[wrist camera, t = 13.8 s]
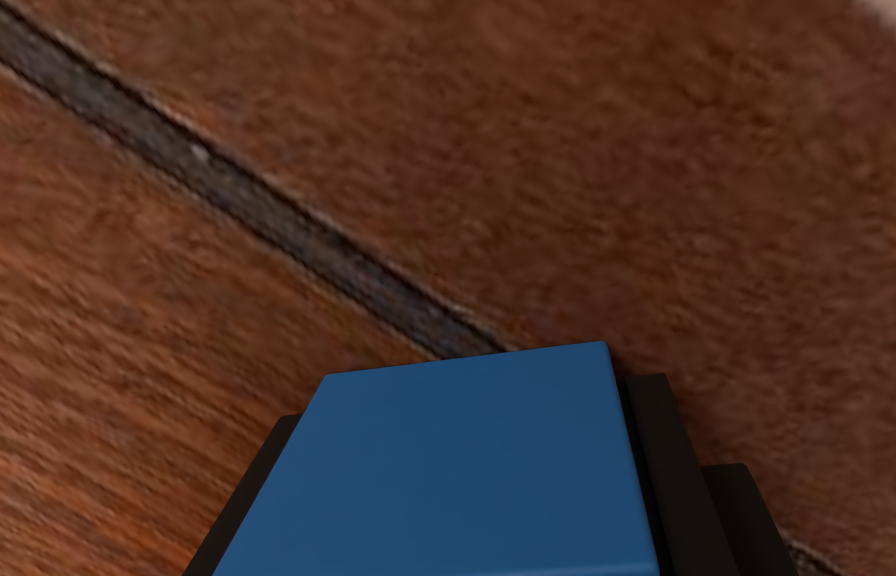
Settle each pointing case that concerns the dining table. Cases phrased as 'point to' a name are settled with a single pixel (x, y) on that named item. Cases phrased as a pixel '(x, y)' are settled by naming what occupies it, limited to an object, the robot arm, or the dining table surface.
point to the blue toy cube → (455, 475)
